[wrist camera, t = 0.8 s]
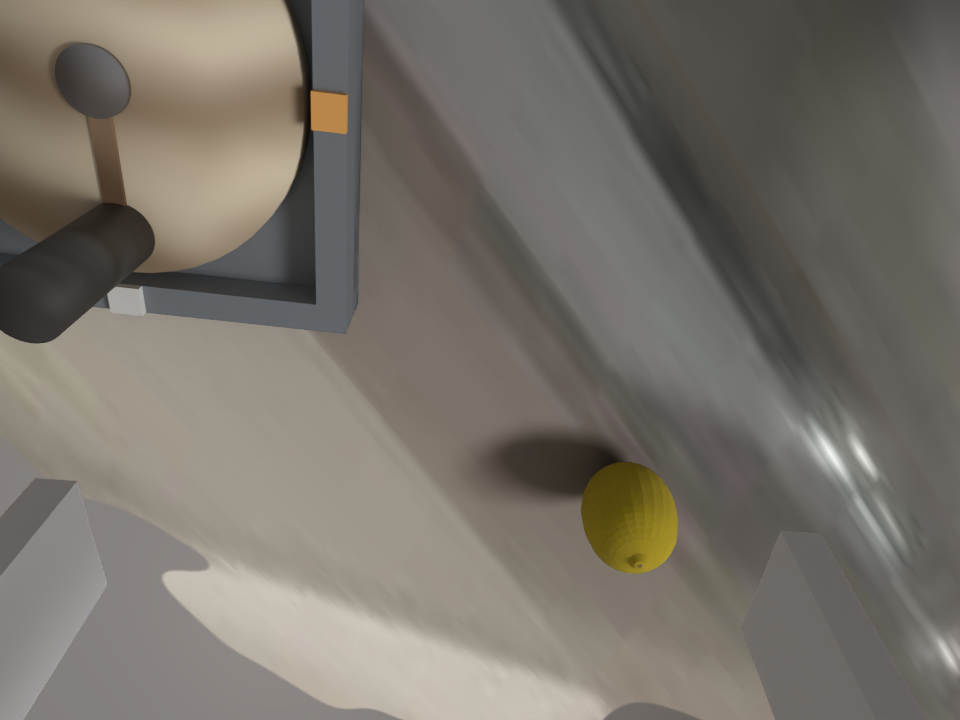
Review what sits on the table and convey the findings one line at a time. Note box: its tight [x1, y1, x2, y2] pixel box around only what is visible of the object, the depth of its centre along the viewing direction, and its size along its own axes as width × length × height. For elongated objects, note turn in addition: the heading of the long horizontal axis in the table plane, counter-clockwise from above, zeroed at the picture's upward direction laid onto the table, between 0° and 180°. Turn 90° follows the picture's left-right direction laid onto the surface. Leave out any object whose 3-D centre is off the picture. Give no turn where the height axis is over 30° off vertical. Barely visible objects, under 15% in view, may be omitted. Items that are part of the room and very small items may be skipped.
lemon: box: [581, 462, 678, 574], centre depth 40 cm, size 6×6×8 cm
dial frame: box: [0, 0, 364, 334], centre depth 30 cm, size 22×22×4 cm
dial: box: [0, 0, 311, 343], centre depth 27 cm, size 18×18×10 cm
